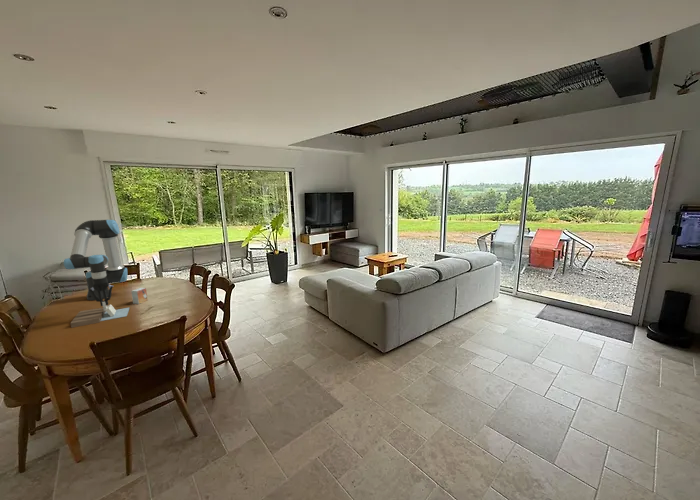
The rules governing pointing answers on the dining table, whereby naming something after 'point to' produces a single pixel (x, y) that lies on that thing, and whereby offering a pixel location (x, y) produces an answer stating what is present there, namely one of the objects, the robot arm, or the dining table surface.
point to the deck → (88, 317)
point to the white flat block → (110, 310)
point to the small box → (139, 295)
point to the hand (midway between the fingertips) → (105, 309)
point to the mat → (116, 314)
